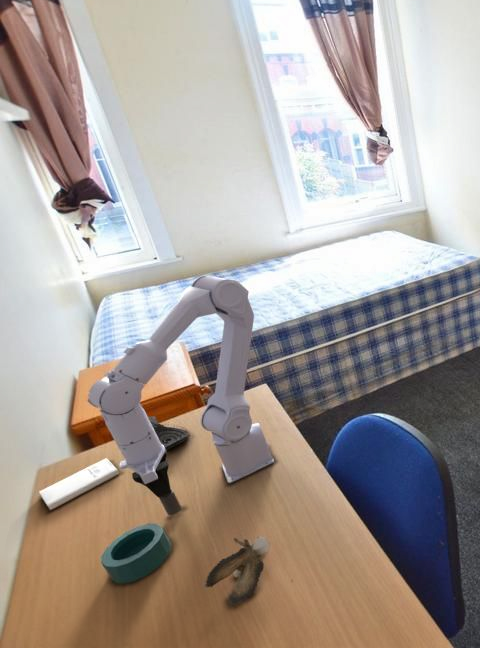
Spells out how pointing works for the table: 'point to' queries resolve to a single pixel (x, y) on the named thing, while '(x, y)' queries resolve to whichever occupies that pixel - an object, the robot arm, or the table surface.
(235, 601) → the eagle figurine
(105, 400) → the robot arm
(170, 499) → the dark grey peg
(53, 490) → the hard drive
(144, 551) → the teal hollow cylinder
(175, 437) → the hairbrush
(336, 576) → the table surface
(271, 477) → the table surface
